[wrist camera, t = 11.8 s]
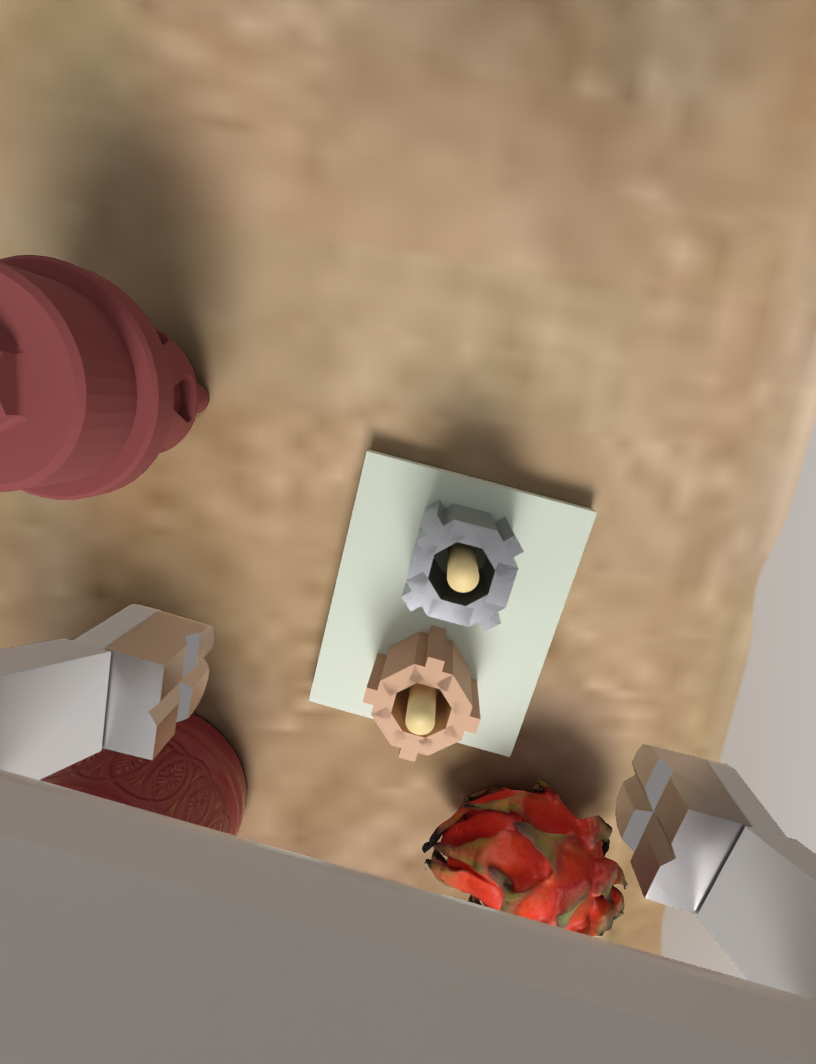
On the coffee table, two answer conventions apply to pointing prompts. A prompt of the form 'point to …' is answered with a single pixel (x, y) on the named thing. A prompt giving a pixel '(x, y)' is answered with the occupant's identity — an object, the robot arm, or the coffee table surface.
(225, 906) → the robot arm
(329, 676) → the gear board
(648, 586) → the coffee table surface
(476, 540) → the loose gear
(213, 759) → the canister
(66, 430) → the mechanical component
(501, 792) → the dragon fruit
